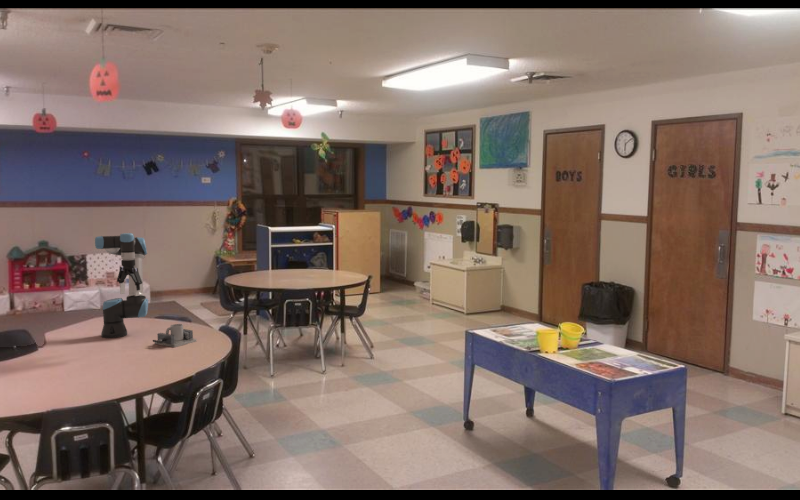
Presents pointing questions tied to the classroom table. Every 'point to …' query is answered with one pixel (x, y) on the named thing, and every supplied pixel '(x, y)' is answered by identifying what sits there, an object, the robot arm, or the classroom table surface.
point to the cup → (176, 331)
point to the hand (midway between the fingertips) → (130, 294)
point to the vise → (170, 339)
